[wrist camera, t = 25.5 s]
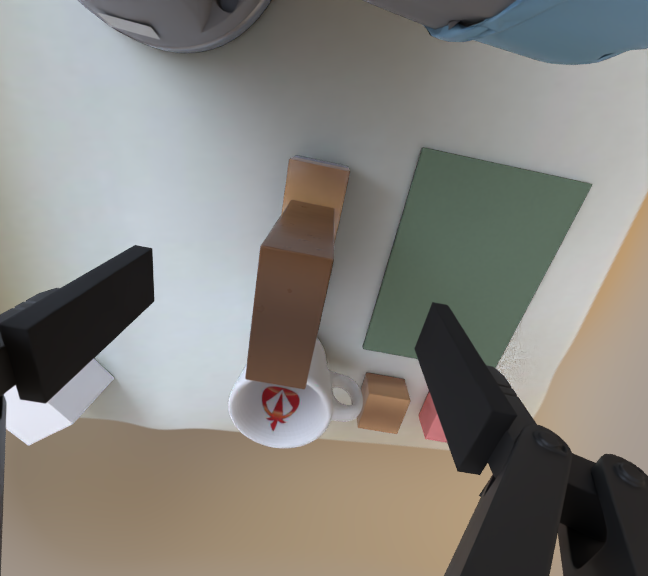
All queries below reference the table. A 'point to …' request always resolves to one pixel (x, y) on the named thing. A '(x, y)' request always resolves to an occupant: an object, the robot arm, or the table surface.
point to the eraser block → (431, 421)
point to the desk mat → (471, 250)
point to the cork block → (383, 403)
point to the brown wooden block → (295, 273)
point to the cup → (293, 406)
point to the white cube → (55, 405)
